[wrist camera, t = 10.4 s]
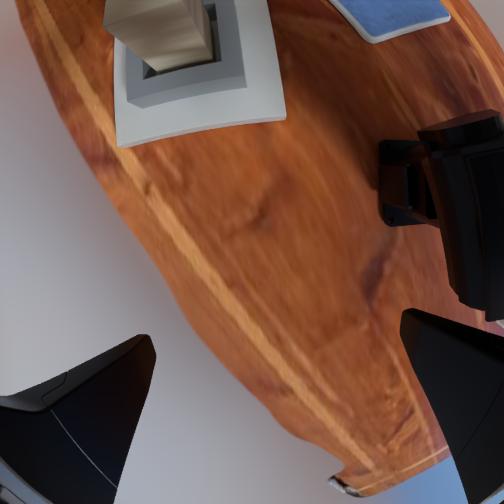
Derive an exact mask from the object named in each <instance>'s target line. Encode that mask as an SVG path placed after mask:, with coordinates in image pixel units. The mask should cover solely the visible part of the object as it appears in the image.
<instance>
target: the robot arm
mask: <svg viewBox="0 0 504 504" xmlns="http://www.w3.org/2000/svg"><path fill="white" fill-rule="evenodd" d="M417 134H418V136H419V139H420V140H422V141H410V140H382V141H381V142H380V143H379V154H380V164H381V165H380V166H379V168H378V170H379V183H380V200H381V201H382V202H383V215H384V223H385V224H386V225H387V226H390V227H394V226H405V225H417V224H429V225H432V226H434V227H437V228H439V229H440V232H441V237H442V242H443V247H444V252H445V258H446V264H447V271H448V278H449V284H450V286H451V288H452V289H453V290H454V292H455V293H456V294H457V295H458V298H459V301H460V302H461V303H463V304H465V305H466V306H468V307H471V308H474V309H477V310H481V311H485V320H486V321H487V322H491V321H497V320H503V319H504V122H503V119H502V116H501V113H500V112H497V111H495V110H492V109H489V110H484V111H479V112H475V113H470V114H466V115H462V116H459V117H456V118H453V119H450V120H447V121H444V122H441V123H438V124H435V125H432V126H429V127H426V128H423V129H420V130H417ZM384 144H386V145H387V150H386V149H385V148H384ZM390 217H392V221H391V222H390V223H389V218H390ZM400 337H401V339H402V342H403V344H404V347H405V349H406V352H407V355H408V357H409V360H410V363H411V365H412V368H413V370H414V372H415V374H416V376H417V378H418V380H419V382H420V384H421V386H422V388H423V390H424V392H425V394H426V396H427V398H428V400H429V403H430V405H431V407H432V409H433V411H434V413H435V416H436V418H437V420H438V422H439V425H440V427H441V429H442V432H443V434H444V436H445V439H446V441H447V444H448V446H449V449H450V451H451V454H452V456H453V459H454V461H455V465H456V468H457V470H458V473H459V476H460V479H461V482H462V485H463V488H464V491H465V494H466V497H467V500H468V504H483V503H485V502H486V501H488V500H489V499H491V498H492V497H494V496H495V495H497V494H498V493H500V492H501V491H502V490H504V337H502V336H499V335H495V334H492V333H487V332H486V331H483V330H480V329H477V328H474V327H470V326H467V325H464V324H461V323H458V322H455V321H452V320H449V319H446V318H443V317H440V316H437V315H434V314H430V313H427V312H424V311H421V310H418V309H415V308H410V309H405V310H404V311H403V312H402V317H401V324H400ZM155 362H156V352H155V349H154V346H153V343H152V340H151V338H150V336H149V335H147V334H138V335H136V336H134V337H132V338H130V339H129V340H127V341H125V342H123V343H121V344H119V345H117V346H115V347H113V348H112V349H109V350H107V351H106V352H104V353H102V354H100V355H98V356H96V357H94V358H92V359H90V360H88V361H86V362H84V363H82V364H80V365H78V366H76V367H74V368H72V369H70V370H69V371H68V372H64V373H62V374H60V375H58V376H56V377H54V378H52V379H50V380H47V381H45V382H43V383H41V384H38V385H36V386H33V387H31V388H28V389H26V390H23V391H21V392H18V393H16V394H13V395H9V396H0V504H113V503H114V500H115V496H116V492H117V488H118V484H119V481H120V478H121V474H122V471H123V468H124V465H125V461H126V458H127V455H128V452H129V449H130V445H131V442H132V439H133V436H134V433H135V430H136V427H137V424H138V421H139V418H140V415H141V412H142V409H143V406H144V404H145V400H146V398H147V394H148V392H149V387H150V384H151V379H152V374H153V370H154V366H155ZM499 504H504V500H503V501H502V502H501V503H499Z"/></svg>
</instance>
